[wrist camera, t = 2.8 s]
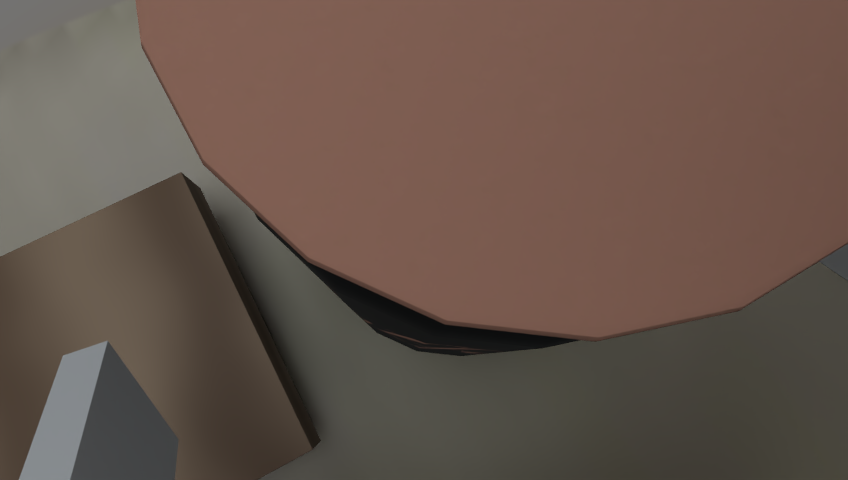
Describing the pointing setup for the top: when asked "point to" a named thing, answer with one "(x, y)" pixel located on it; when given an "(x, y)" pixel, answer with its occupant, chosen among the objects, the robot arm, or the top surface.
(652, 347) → the top surface
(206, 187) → the top surface
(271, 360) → the brown toy cart
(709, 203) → the coffee jar
